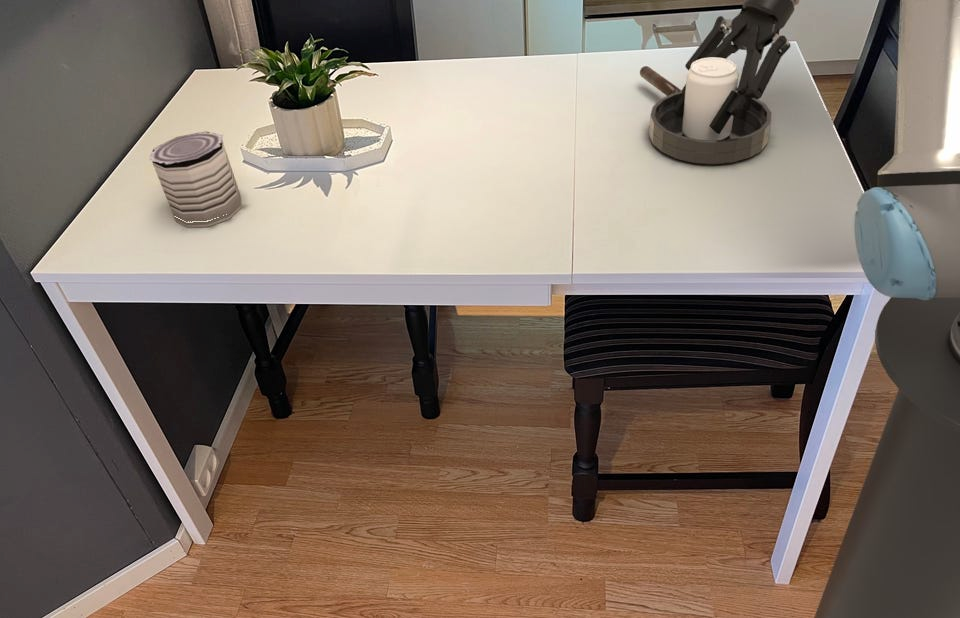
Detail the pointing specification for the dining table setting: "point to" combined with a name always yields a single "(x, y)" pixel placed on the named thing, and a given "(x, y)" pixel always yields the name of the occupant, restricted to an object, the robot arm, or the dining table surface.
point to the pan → (739, 145)
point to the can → (197, 179)
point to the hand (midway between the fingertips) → (695, 121)
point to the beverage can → (708, 96)
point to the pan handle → (658, 81)
